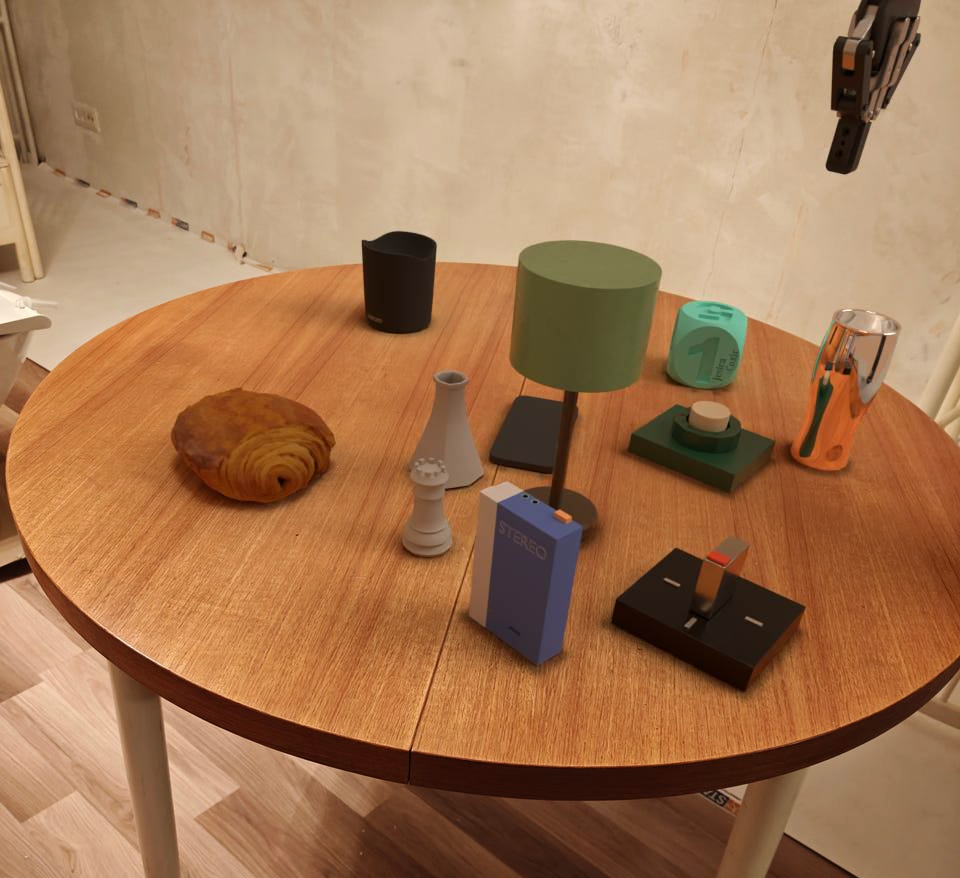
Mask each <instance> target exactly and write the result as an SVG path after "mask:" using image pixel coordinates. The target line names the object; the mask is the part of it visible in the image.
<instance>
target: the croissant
mask: <svg viewBox="0 0 960 878" xmlns="http://www.w3.org/2000/svg"><path fill="white" fill-rule="evenodd" d="M170 441H171V443H172V445H173V448H174V450H175V452H177V454H178V455H179V457H180V458H181V459H182V460H183V462H184V463H185V465H186V466H187V467H189V468H190V469H191V470H192V471H193V472H194V473H195V474H196V476H197V477H199V479H200V480H202V481H203V482H204V484H206V486H208V487H209V488H211V489H212V490H213V491H217V493H220V494H222V495H223V496H224V497H227V498H229V499H234V500H238V501H242V502H245V501H247V502H251V501H253V502H257V503H263V504H268V503H271V502H277V501H278V502H279V501H281V500H283V499H285V498H286V497H288V496H291V495H293V494H294V493H295V492H296V491H298V490H303V489H305V488H307V486H308V484H309V481H310V480H311V481H312V480H315V479H317V478H319V477H320V475H321V474H323V473H324V472H325V471H326V469H327V467H328V466H329V462H331V461H332V459H331V458H330V456H331V452H332V449H334V447H336V445H337V442H336V440H335V435H334V433H333V431H332V430H331V428H330V427H329V426H328V424H327V423H326V422H325V420H323V418H322V417H321V416H320V415H319V413H317V412H316V410H314V409H312V408H310V407H309V406H307V405H305V404H303V403H300V402H298V401H296V400H294V399H291V398H287V397H284V396H280V395H279V394H278V393H267V392H255V391H250V390H244V389H243V388H242V387H236V388H231V389H229V390H225V391H220V392H217V393H213V394H209V395H205V396H204V397H203V398H201V399H200V400H198V401H197V402H195V403H193V404H188V405H187V406H186V407H185V408H184V410H182V411H180V412H179V413H178V415H177V416H176V418H175V421H174V425H173V427H172V428H171V432H170Z"/></svg>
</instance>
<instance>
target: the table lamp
mask: <svg viewBox="0 0 960 878" xmlns="http://www.w3.org/2000/svg"><path fill="white" fill-rule="evenodd" d="M662 276H663V269H662V267H661V266H660V264H659V263H658V262H656V260H654V259H653V258H651V257H649V256H647V255H646V254H643V253H641V252H639V251H636V250H633V249H630V248H627V247H624V246H620V245H615V244H610V243H604V242H599V241H598V242H597V241H590V240H578V239H576V240H575V239H573V240H572V239H560V240H549V241H543V242H538V243H535V244H531V245H529V246H526V247H525V248H523V249H522V250H521V251H520V252H519V254H518V261H517V270H516V282H515V283H516V284H515V292H514V301H513V313H512V325H511V332H510V333H511V334H510V345H509V355H508V359H509V362H510V365H511V367H512V368H513V369H514V370H515V371H516V372H517V373H518V374H520V375H521V376H522V377H524V378H526V379H527V380H530V381H531V382H534V383H536V384H539V385H542V386H544V387H547V388H551V389H556V390H560V391H563V398H562V402H563V404H562V411H561V419H560V426H559V433H558V440H557V447H556V454H555V461H554V468H553V473H552V477H551V483H550V485H549V486H548V485H545V486H541V485H540V486H533V487H530V488H527V489H525V490H523V491H525V492H527V493H528V494H530V495H532V496H533V497H535V498H537V499H538V500H540V501H541V502H543V503H545V504H546V505H548V506H550V507H551V508H553V509H555V510H556V511H558V510H561V511H563V512H565V513H566V514H568V515H570V516H571V517H572V520H573V521H575V522H576V523H578V524H580V525H581V526H583V530H582V536H581V542H580V544H582V543H583V542H586V541H587V540H588V539H590V538H591V537H592V536H593V534H594V533H595V529H596V525H597V518H598V511H597V508H596V505H595V504H594V503H593V501H591V499H589V498H588V497H587V496H585V495H584V494H581V493H580V492H578V491H575V490H572V489H569V488H565V485H566V479H567V472H568V464H569V458H570V451H571V446H572V438H573V432H574V427H575V424H574V420H575V413H576V406H577V407H578V400H579V394H580V393H584V394H585V393H586V394H600V393H609V392H617V391H620V390H623V389H626V388H629V387H631V386H633V385H635V384H636V383H637V382H638V381H639V380H640V379H641V377H642V376H643V371H644V366H645V362H646V356H647V352H648V346H649V341H650V336H651V331H652V327H653V326H652V325H653V320H654V316H655V311H656V307H657V306H656V305H657V301H658V297H659V296H658V295H659V291H660V285H661V280H662ZM573 426H574V427H573Z"/></svg>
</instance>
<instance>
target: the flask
mask: <svg viewBox="0 0 960 878" xmlns="http://www.w3.org/2000/svg"><path fill="white" fill-rule="evenodd" d="M432 381H433V382H434V384H435V390H434V391H435V393H434V400H433V404H432V408H431V411H430V415H429V416H428V419H427V422H426V424H425V427H424V429H423V432H422V434H421V435H420V438H419V439H418V440H419V441H418V442H417V444H416V447H415V449H414V450H413V453H412V455H411V457H410V460H409V462H408V464H407V466H408V467H409V469H410V470H411V471H412V470H413V469H414V468H415V462H418V463H419V459H422V458H424V459H425V463H428V462H429V458H435V463H436V464H438V461H439V460H441V461H442V462H444V464H443V465H445V470H446V471H447V473H448V475H449V478H448V480H447V481H446V482H445V483H444V484H443V487H444V489H445V490H446V489H452V488H453V489H454V488H460V487H466V486H470V485H472V484H473V483H474V482H475V481H477V480H478V479H480V477H482V476H483V475H485V471H484V467H483V464H482V461H481V458H480V455H479V452H478V449H477V447H476V443H475V440H474V436H473V433H472V429H471V426H470V422H469V419H468V415H467V407H466V387H467V386H468V385H469V383H470V378H469V377H468V376H467V375H466V374H465V373H464V372H461V371H458V370H455V369H447V370H439V371H438V372H436V373H434V374H432ZM411 471H410V472H411Z"/></svg>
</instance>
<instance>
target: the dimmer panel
mask: <svg viewBox="0 0 960 878" xmlns="http://www.w3.org/2000/svg"><path fill="white" fill-rule="evenodd" d="M703 560H704V558H701V557H698V556H696V555H694V554H691V553H689V552H687V551H685V550H684V549H680V548H679V547H674V548H673V549H672V550H671V551H669V552H668V554H666V555H665V556H664V557H663V558H661V560H659V561H658V562H657V563H655V565H653V566H652V567H651V568H650V569H649V570H648V571H646V572H645V573H644V574H643V575H642V576H641V577H640V578H638V579H637V580H636V581H635V582H633V584H631V586H629V587H628V588H627V589H625V591H623V592H622V593H621V594H620V595H618V596H617V597H616V598H615V600H614V606H613V610H612V614H611V620H610V623H611V624H612V625H614V626H616V627H618V628H619V629H622V630H624V631H626V632H628V633H630V634H631V635H633V636H635V637H637V638H639V639H641V640H643V641H645V642H647V643H649V644H651V645H653V646H655V647H657V648H659V650H660V649H661V650H662V651H665V653H668V654H670V655H672V656H674V657H676V658H677V659H680V660H682V661H684V662H686V663H687V664H689V665H692V666H693V667H695V668H697V669H700V670H701V671H703V672H705V673H707V674H709V675H711V676H713V677H715V678H717V679H719V680H721V681H723V682H724V683H726V684H728V685H731V686H732V687H734V688H736V689H737V690H740V691H742V692H744V693H745V692H746V691H748V690H749V688H750V687H751V686H752V685H753V683H754V682H755V681H756V680H757V678H758V677H759V676H760V675H761V674H762V673H763V672H764V670H765V669H766V668H767V666H768V665H769V664H770V663H771V661H773V659H774V658H775V657H776V656H777V655H778V653H779V652H780V651H781V650H782V648H783V647H784V646H785V645H786V644H787V643H788V642H789V640H790V639H791V638H792V636H793V635H794V634H795V633H796V632H797V630H798V629H799V626H800V624H801V621H802V618H803V615H804V613H805V611H806V608H807V606H806V605H804V604H802V603H799V602H797V601H795V600H793V599H791V598H788V597H787V596H784V595H782V594H780V593H778V592H775V591H772V590H771V589H768V588H766V587H765V586H762V585H760V584H758V583H755V582H753V581H751V580H749V579H747V578H744V577H742V576H740V578H739V581H738V584H737V587H736V590H735V593H734V595H733V596H732V597H731V598H730V599H729V600H728V601H727V602H726V603H725V604H724V605H723V606H722V607H721V608H720V609H719V610H718V611H717V612H716V613H715V614H714V615H713V616H712V617H711V618H710V619H707V618H705V617H703V616H701V615H699V614H697V613H695V612H693V611H691V610H689V608H690V605H691V601H692V598H693V594H694V591H695V587H696V584H697V580H698V577H699V573H700V570H701V567H702V563H703Z"/></svg>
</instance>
